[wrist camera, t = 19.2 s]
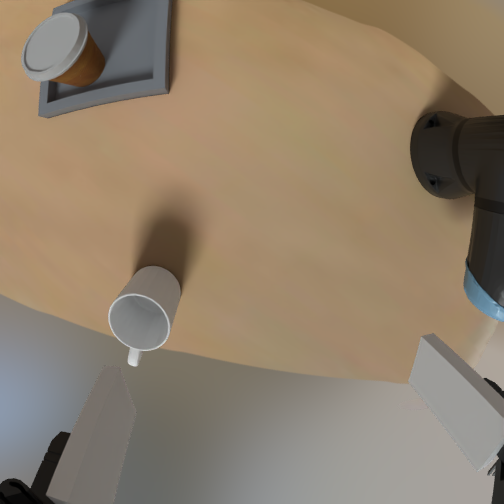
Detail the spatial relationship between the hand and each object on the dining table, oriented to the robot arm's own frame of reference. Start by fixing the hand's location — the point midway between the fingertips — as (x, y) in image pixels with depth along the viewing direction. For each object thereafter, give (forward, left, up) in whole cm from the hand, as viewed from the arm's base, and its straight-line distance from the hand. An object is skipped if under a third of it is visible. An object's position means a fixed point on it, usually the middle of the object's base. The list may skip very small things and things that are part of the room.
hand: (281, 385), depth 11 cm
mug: (+14, +10, -32) cm, 36 cm away
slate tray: (+19, -30, -32) cm, 48 cm away
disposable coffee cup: (+22, -26, -31) cm, 46 cm away
